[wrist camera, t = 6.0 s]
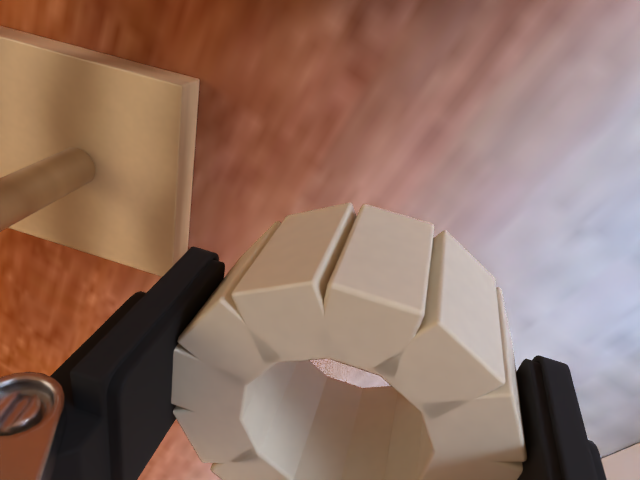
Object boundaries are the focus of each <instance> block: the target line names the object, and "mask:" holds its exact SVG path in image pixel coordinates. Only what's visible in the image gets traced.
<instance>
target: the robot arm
mask: <svg viewBox="0 0 640 480" xmlns="http://www.w3.org/2000/svg"><path fill="white" fill-rule="evenodd" d="M224 271H225V264H224V263H223V262H220V261H219V257H218V255H217V254H216V253H213V252H210V251H207V250H203V249H200V248H197V247H191V248H190V249H189V250H188V251H187V252H186V253H185V254H184V255H183V256H182V257H181V258H180V259H179V260H178V261H177V262H176V263H175V264H174V265H173V266H172V267H171V268H170V269H169V270H168V272H167V273H166V274H165V275H164V276H163V277H162V278H161V279H160V280H159V281H158V282H157V283H156V284H155V285H154V286H153V287H152V288H151V289H150V290H149V291H148V292H147V293H144V292H141V291H140V292H137V293H135V294H134V295H132V296H131V297H130V298H129V299H128V300H127V301H126V302H125V303H124V304H123V305H122V306H121V307H120V308H119V309H118V310H117V311H116V312H115V313H114V314H113V315H112V316H111V317H110V318H109V319H108V320H107V321H106V322H105V323H104V324H103V325H102V326H101V327H100V328H99V329H98V330H97V331H96V332H95V333H94V334H93V335H92V336H91V337H90V338H89V339H88V340H87V341H86V342H84V343H83V344H82V345H81V346H80V347H79V348H78V349H77V350H76V351H75V352H74V353H73V354H72V355H71V356H70V357H69V358H68V359H67V360H66V361H65V362H64V363H63V364H62V365H61V366H60V367H59V368H58V369H57V370H56V371H55V372H54V373H53V374H52V375H51V376H47V375H45V374H42V373H34V372H24V373H14V374H11V375H7V376H4V377H1V378H0V480H137V479H138V477H139V476H140V474H141V473H142V471H143V469H144V468H145V466H146V465H147V463H148V462H149V460H150V459H151V457H152V455H153V454H154V452H155V451H156V449H157V448H158V446H159V444H160V443H161V441H162V440H163V438H164V437H165V435H166V433H167V432H168V430H169V429H170V427H171V426H172V424H173V422H174V421H175V419H176V417H175V416H174V414H173V410H174V408H175V407H176V405H173V404H172V403H171V395H172V374H173V353H174V349H175V348H176V346H177V345H178V344H179V343H178V342H177V341H178V337H179V336H180V335H181V333H182V332H183V331H184V330H185V328H186V327H187V326H188V324H189V323H190V322H191V320H192V319H193V318H194V317H195V315H196V314H197V313H198V311H199V310H200V309H201V308H202V306H203V305H204V304H205V302H206V301H207V300H208V298H209V297H210V296H211V295H212V293H213V292H214V291H215V289H216V288H217V287H218V286H219V284H220V283H221V282H222V280H223V279H224ZM516 375H517V383H518V390H519V398H520V406H521V414H522V421H523V429H524V437H525V445H526V453H527V459H526V461H524V462H522V465H523V471H522V473H521V475H520V476H519V478H518V479H517V480H607V479H606V475H605V472H604V468H603V464H602V461H601V457H600V454H599V451H598V449H597V446H596V445H595V444H594V443H593V442H592V441H590V440H588V438H587V435H586V431H585V427H584V423H583V419H582V415H581V412H580V408H579V404H578V400H577V396H576V392H575V389H574V385H573V381H572V377H571V373H570V370H569V367H568V365H566V364H564V363H561V362H558V361H555V360H552V359H549V358H545V357H542V356H536V357H534V359H533V360H528V359H525V360H524V361H523V362H522V363H521V365H520V367H519V369H518V370H517V372H516Z"/></svg>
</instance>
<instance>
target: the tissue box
mask: <svg viewBox="0 0 640 480" xmlns="http://www.w3.org/2000/svg"><path fill="white" fill-rule="evenodd" d="M601 461H602V464H603V468H604V472H605V475H606V479H607V480H640V443H638V444H635V445H633V446H631V447H628V448H626V449H624V450H621V451H619V452H617V453H614V454H612V455H609V456H607V457H605V458H602V459H601Z"/></svg>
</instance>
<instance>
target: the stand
mask: <svg viewBox="0 0 640 480" xmlns="http://www.w3.org/2000/svg"><path fill="white" fill-rule="evenodd" d="M199 82H200V80H199V79H197V78H193V77H190V76H186V75H182V74H179V73H175V72H171V71H167V70H164V69H160V68H156V67H152V66H149V65H145V64H141V63H138V62H134V61H130V60H126V59H123V58H119V57H115V56H111V55H108V54H104V53H100V52H97V51H93V50H89V49H85V48H82V47H78V46H74V45H70V44H67V43H63V42H59V41H56V40H52V39H48V38H44V37H41V36H37V35H33V34H29V33H26V32H22V31H18V30H15V29H11V28H7V27H3V26H0V232H1V231H3V230H4V229H6V228H11V229H14V230H17V231H20V232H23V233H26V234H29V235H33V236H36V237H39V238H42V239H45V240H48V241H51V242H54V243H58V244H61V245H64V246H67V247H70V248H73V249H76V250H80V251H83V252H86V253H89V254H92V255H95V256H98V257H101V258H105V259H108V260H111V261H114V262H117V263H120V264H123V265H127V266H130V267H133V268H136V269H139V270H142V271H145V272H148V273H152V274H155V275H158V276H161V277H163V276H164V275H165V274H166V273H167V272H168V270H169V269H170V268H171V267H172V266H173V265H174V264H175V263H176V262H177V261H178V260H179V259H180V258H181V257H182V256H183V255H184V254H185V253H186V252H187V251H188V239H189V225H190V210H191V196H192V182H193V168H194V153H195V139H196V125H197V111H198V97H199Z"/></svg>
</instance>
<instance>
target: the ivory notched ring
mask: <svg viewBox="0 0 640 480" xmlns="http://www.w3.org/2000/svg"><path fill="white" fill-rule="evenodd" d="M433 236H434V225H433V224H432V223H429V222H426V221H422V220H419V219H416V218H412V217H409V216H405V215H402V214H398V213H395V212H392V211H388V210H385V209H381V208H378V207H374V206H371V205H368V204H363V205H362V206H361V208H360V210H359V213H358V215H357V217H356V213H355V210H354V207H353V205H352V203H345V204H340V205H335V206H331V207H326V208H321V209H316V210H311V211H306V212H302V213H297V214H292V215H288V216H286V218H285V219H284V220H283V222H282V223H281V222H279V221H277V222H275V223H274V224H273V225H272V226H271V227H270V228H269V229H268V230H267V231H266V232H265V233H264V234H263V235H262V236H261V237H260V238H259V239H258V240H257V241H256V242H255V243H254V244H253V245H252V246H251V247H250V248H249V249H248V250H247V251H246V252H245V253H244V254H243V255H242V256H241V257H240V258H239V260H238V261H237V262H236V264H235V265H234V266H233V267H232V269H231V270H230V271H229V273H228V274H227V275H226V276H225V278H224V279H223V280H222V282H221V283H220V284H219V286H218V287H217V288H216V289H215V291H214V292H213V293H212V295H211V296H210V297H209V298H208V300H207V301H206V302H205V304H204V305H203V306H202V308H201V309H200V310H199V311H198V313H197V314H196V315H195V317H194V318H193V319H192V320H191V322H190V323H189V324H188V326H187V327H186V328H185V330H184V331H183V332H182V333H181V335H180V336H179V337H178V341H177V342H178V343H179V344H178V345H177V346H176V348H175V349H174V353H173V374H172V395H171V403H172V404H173V405H176V407H175V408H174V410H173V414H174V416H175V417H176V419H177V421H178V422H179V424H180V426H181V427H182V429H183V431H184V433H185V434H186V436H187V438H188V439H189V441H190V443H191V445H192V446H193V448H194V450H195V451H196V453H197V455H198V456H199V458H200V460H201V462H203V463H213V464H212V466H211V471H212V472H213V473H214V474H216V475H217V476H218V477H219V478H221V479H222V480H517V479H518V478H519V476H520V475H521V473H522V471H523V465H522V462H524V461H526V459H527V453H526V445H525V437H524V429H523V421H522V414H521V406H520V398H519V390H518V383H517V375H516V367H515V359H514V352H513V344H512V339H511V334H510V329H509V324H508V319H507V314H506V309H505V304H504V299H503V294H502V290H501V289H500V288H499V287H497V288H496V283H495V278H494V276H492V275H491V274H490V273H489V272H488V271H487V270H486V269H485V268H484V267H483V266H482V265H481V264H480V263H479V262H478V261H477V260H476V259H475V258H474V257H473V256H472V255H471V254H470V253H469V252H468V251H467V250H466V249H465V248H464V247H463V246H462V245H461V244H460V243H459V242H458V241H457V240H456V239H455V238H453V237H452V236H451V235H450V234H449V233H448V232H447V231H446V230H444V231H442V232H441V233H440V234H438V235H437V236H436V237H434V238H433ZM317 359H331V360H334V361H337V362H340V363H343V364H346V365H349V366H352V367H355V368H358V369H361V370H364V371H367V372H370V373H373V374H376V375H379V376H381V377H382V378H383V379H384V380H385V381H386V382H387V383H389V384H390V385H391V386H387V387H371V388H361V387H358V386H355V385H352V384H349V383H346V382H343V381H340V380H337V379H334V378H331V377H328V376H326V375H325V374H324V373H323V372H322V371H321V370H319V369H318V368H317V367H316V366H315V365H314V364H313V363H311V362H310V361H309V360H317Z"/></svg>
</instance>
